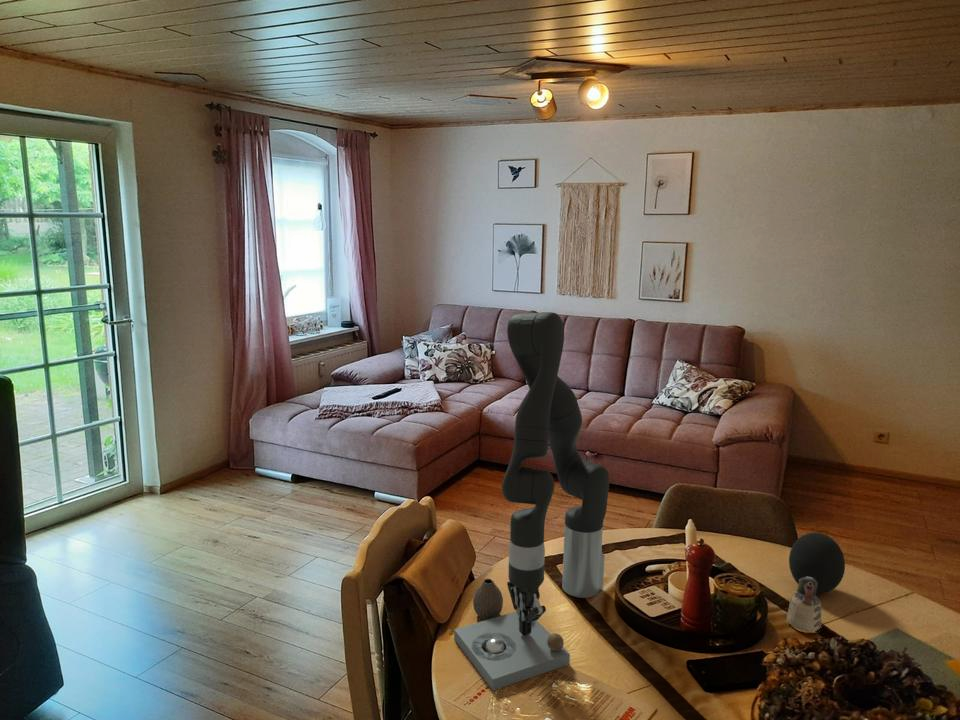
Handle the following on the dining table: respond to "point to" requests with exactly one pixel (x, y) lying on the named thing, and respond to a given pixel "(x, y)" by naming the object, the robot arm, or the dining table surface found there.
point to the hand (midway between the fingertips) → (525, 632)
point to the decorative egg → (817, 561)
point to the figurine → (805, 606)
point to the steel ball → (494, 646)
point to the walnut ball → (555, 642)
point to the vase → (488, 600)
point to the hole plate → (509, 650)
